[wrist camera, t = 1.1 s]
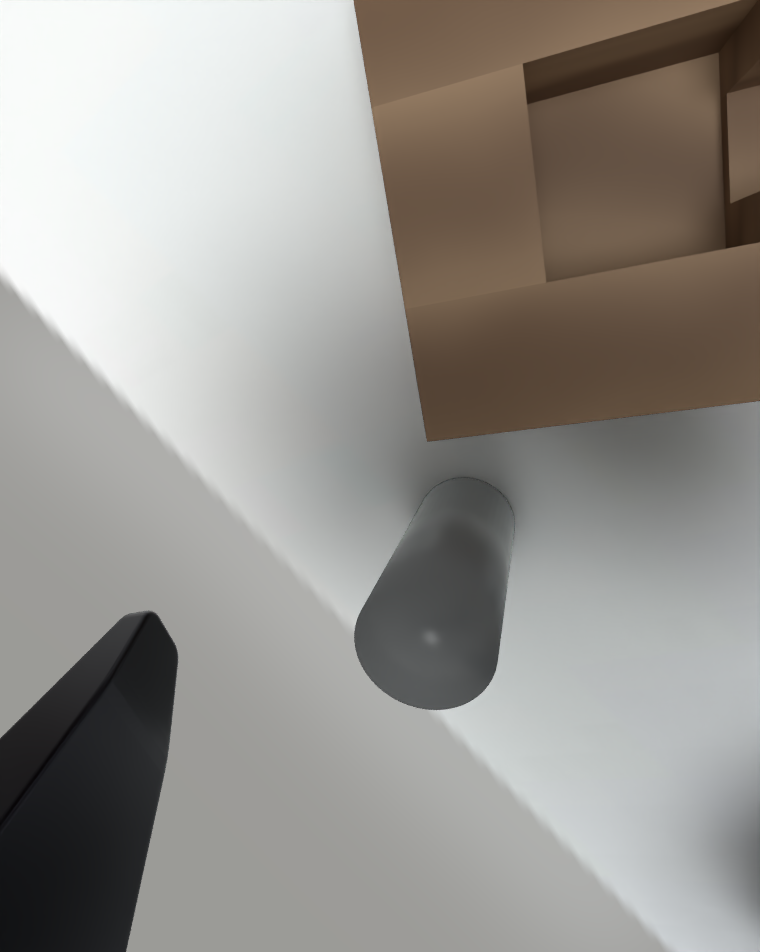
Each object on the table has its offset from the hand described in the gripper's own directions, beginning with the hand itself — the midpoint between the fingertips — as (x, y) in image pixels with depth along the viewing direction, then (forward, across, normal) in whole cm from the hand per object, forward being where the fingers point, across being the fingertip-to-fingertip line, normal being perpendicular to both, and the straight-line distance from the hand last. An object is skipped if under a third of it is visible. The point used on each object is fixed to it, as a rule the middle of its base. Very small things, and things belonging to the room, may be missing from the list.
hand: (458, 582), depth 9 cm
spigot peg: (+10, -1, +8) cm, 13 cm away
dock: (+13, -7, -2) cm, 14 cm away
